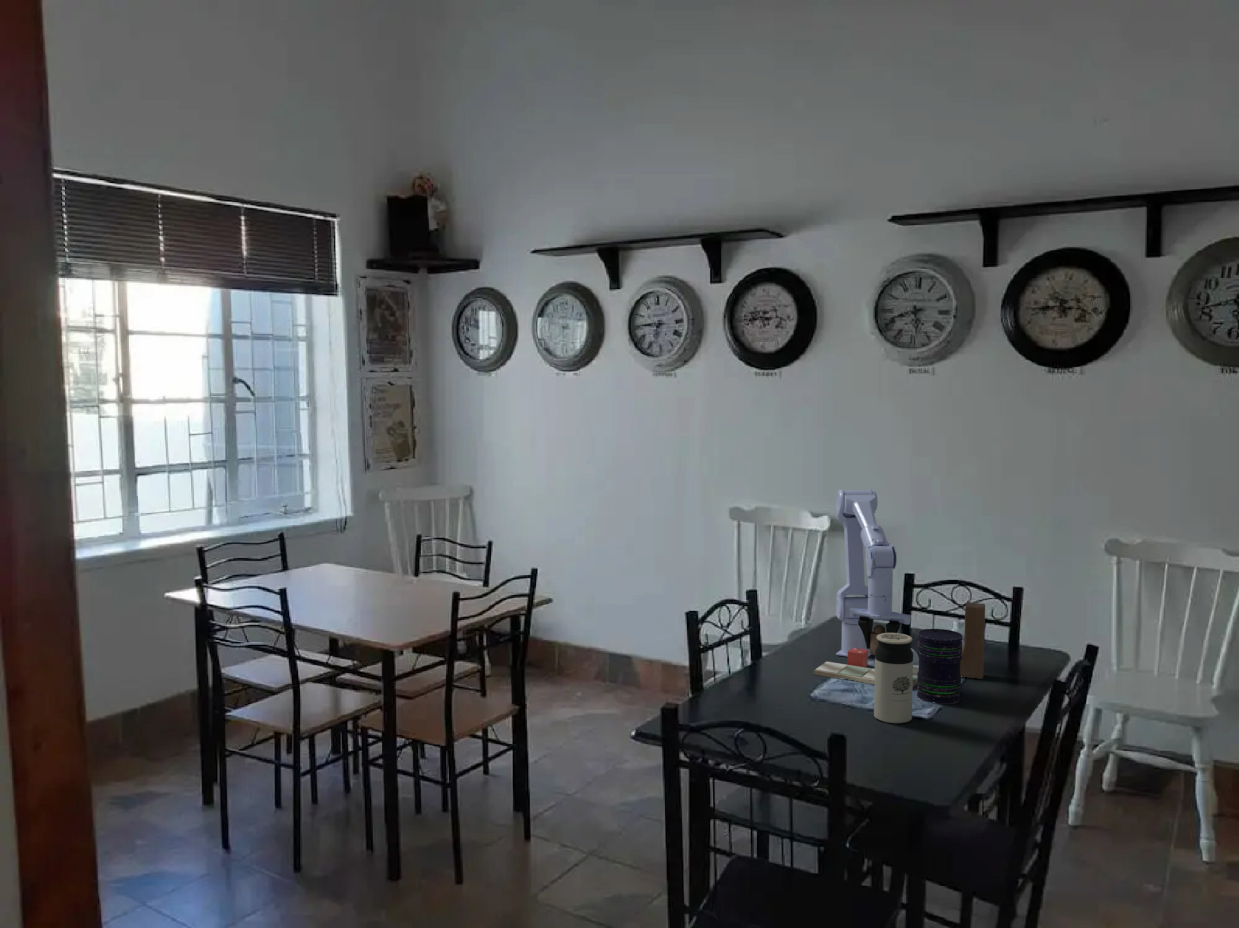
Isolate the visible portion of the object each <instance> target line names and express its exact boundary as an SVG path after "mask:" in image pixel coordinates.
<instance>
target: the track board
mask: <svg viewBox="0 0 1239 928" xmlns="http://www.w3.org/2000/svg"><path fill="white" fill-rule="evenodd" d="M813 675H815V676H819V677H826V678H832V679H838V678H844V679H849V680H848V681H850V680H854V681H853V682H856V681H858V683H862V682H863V683H864V684H869V685H874V684H875V668H872V667H871V668H870V667H859V666H852V665H847V663H845V664H844V663H837V662H832V661H825V662H824V663H822V664H821V665H820V666H818V667H816V668H815V669H814V670H813ZM844 679H843V680H844ZM917 679H918V678H917V676H916V675H913V687H912V689H913V688H914V687H916V686H917ZM863 683H862V684H863Z"/></svg>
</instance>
